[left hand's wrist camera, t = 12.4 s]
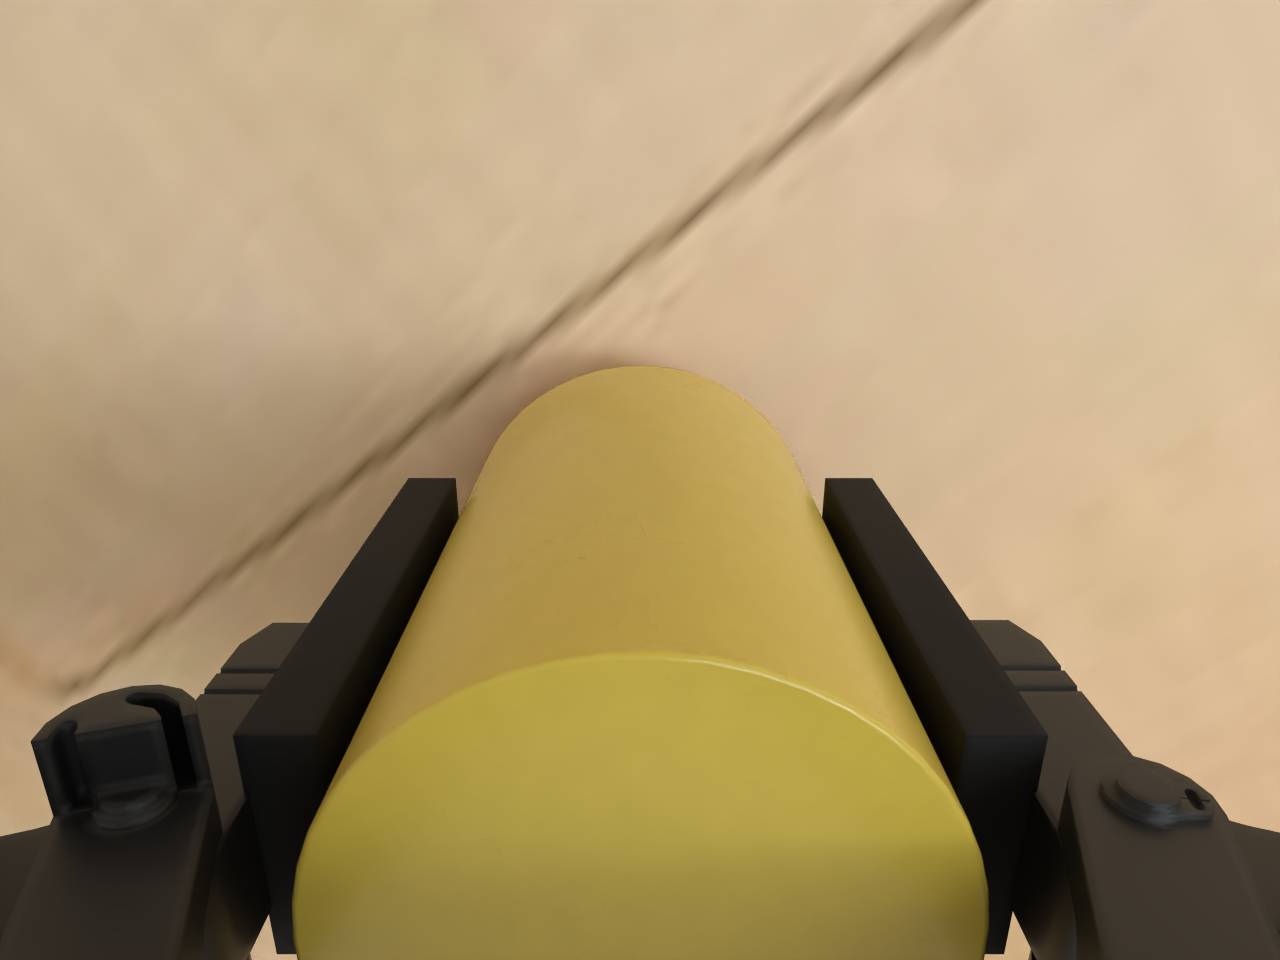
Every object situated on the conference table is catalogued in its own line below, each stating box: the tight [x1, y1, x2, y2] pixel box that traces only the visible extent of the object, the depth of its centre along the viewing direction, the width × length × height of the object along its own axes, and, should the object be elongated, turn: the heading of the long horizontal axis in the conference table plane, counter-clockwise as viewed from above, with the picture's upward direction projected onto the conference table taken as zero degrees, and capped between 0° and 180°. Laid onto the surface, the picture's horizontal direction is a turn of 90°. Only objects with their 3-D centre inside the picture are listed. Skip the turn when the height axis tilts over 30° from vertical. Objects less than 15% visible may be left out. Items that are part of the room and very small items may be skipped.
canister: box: [292, 366, 989, 960], centre depth 12 cm, size 6×6×9 cm
